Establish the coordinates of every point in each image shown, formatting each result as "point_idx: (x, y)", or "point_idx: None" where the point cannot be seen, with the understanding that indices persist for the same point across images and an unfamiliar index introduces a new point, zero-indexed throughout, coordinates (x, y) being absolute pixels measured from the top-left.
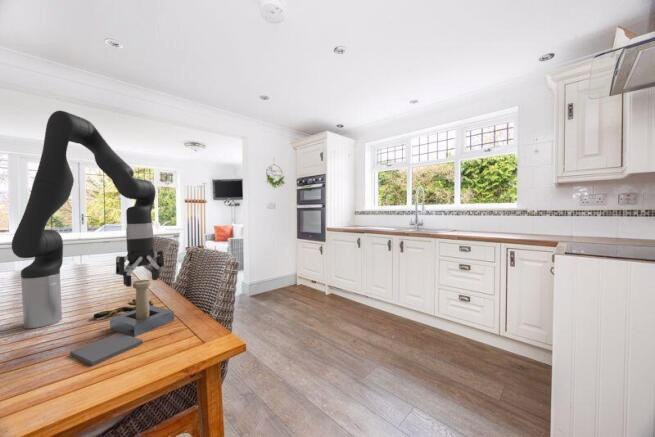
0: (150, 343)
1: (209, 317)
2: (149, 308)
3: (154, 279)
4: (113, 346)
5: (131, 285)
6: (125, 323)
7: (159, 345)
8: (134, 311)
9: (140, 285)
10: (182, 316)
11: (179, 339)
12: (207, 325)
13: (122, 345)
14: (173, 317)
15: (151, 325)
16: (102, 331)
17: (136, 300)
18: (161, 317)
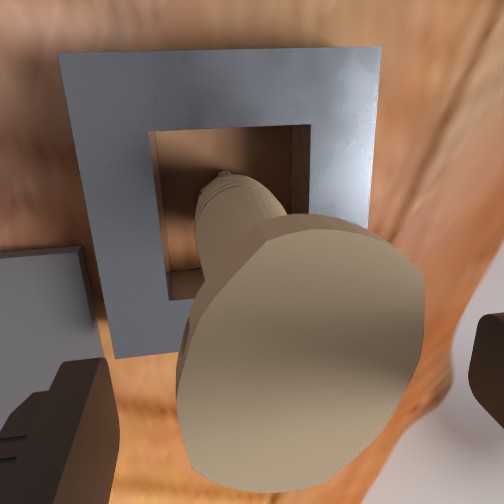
0: (137, 438)
1: (423, 404)
2: (329, 132)
3: (475, 370)
4: (2, 391)
5: (117, 446)
6: (99, 273)
7: (149, 477)
8: (239, 84)
9: (217, 466)
10: None
11: (219, 487)
12: (354, 463)
13: None
14: None
15: None
16: (29, 65)
17: (203, 261)
18: None
